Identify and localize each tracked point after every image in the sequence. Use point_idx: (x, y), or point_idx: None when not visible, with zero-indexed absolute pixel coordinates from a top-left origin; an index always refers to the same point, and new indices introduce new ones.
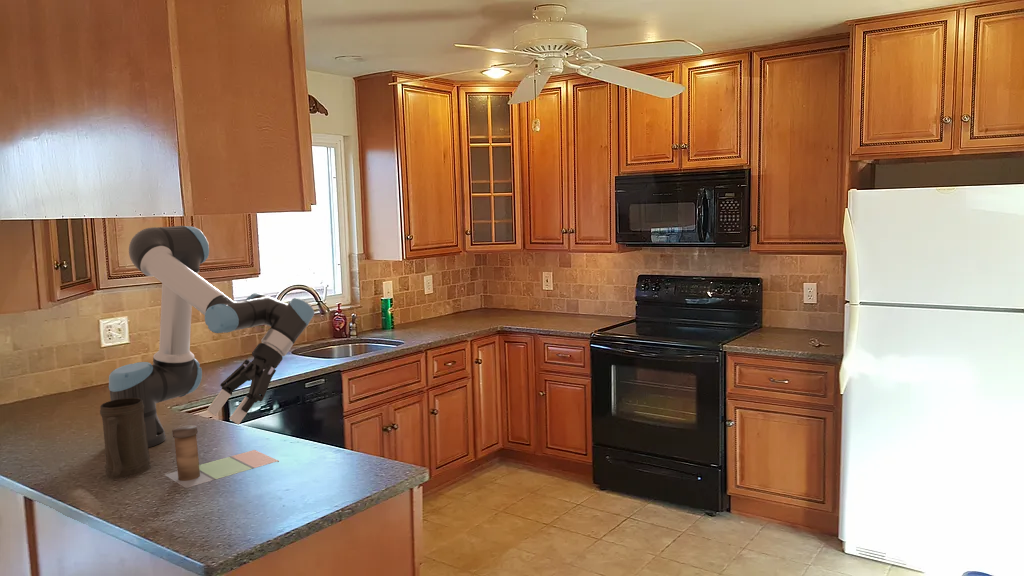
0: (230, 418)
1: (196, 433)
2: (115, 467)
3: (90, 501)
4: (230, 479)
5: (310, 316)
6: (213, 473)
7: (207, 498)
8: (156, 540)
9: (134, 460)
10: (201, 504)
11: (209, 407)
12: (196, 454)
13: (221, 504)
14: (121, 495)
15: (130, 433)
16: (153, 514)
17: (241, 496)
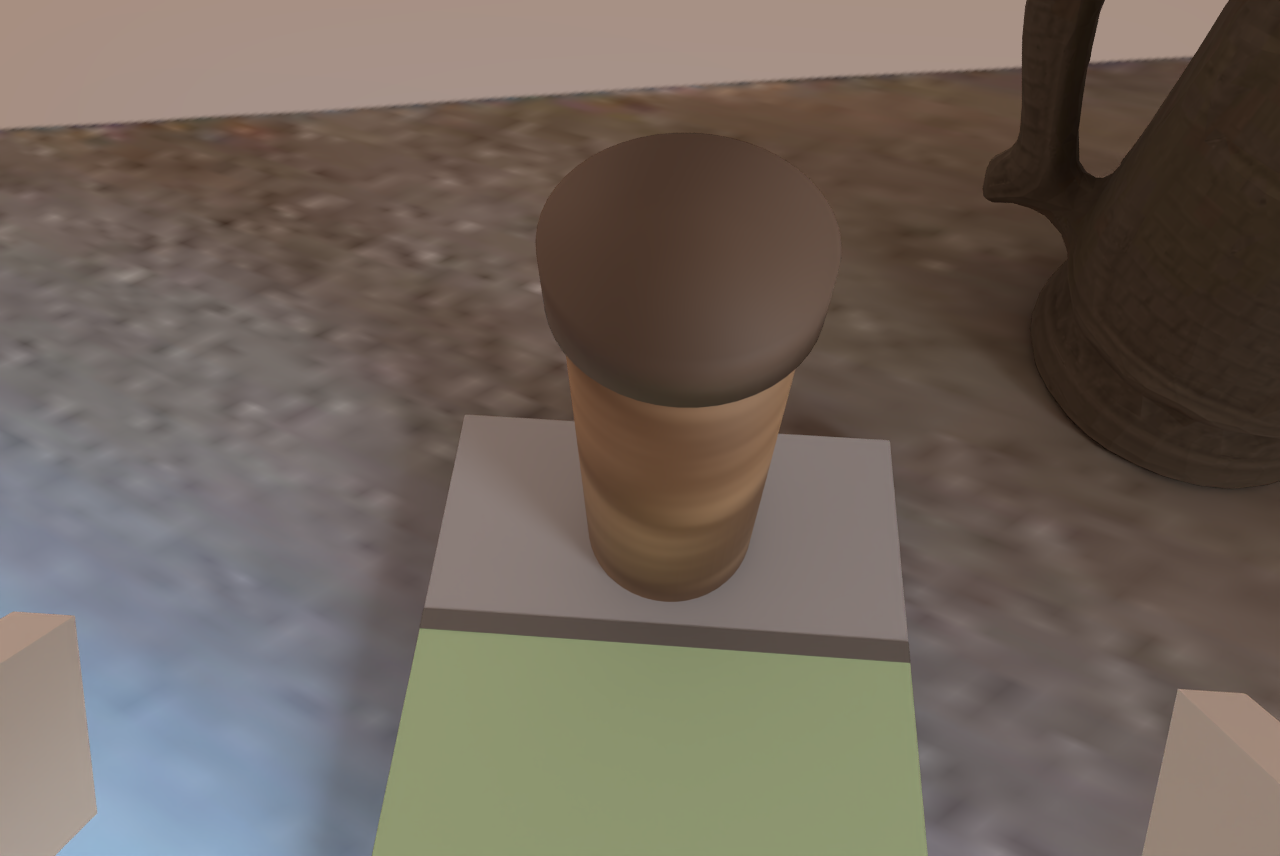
0: (21, 619)
1: (578, 364)
2: (1012, 147)
3: (844, 126)
4: None
5: None
6: (569, 683)
7: (251, 479)
8: (49, 133)
9: (1098, 259)
10: (202, 414)
11: (1243, 733)
12: (592, 475)
13: (63, 484)
14: None
15: (1227, 50)
16: (351, 222)
17: None
